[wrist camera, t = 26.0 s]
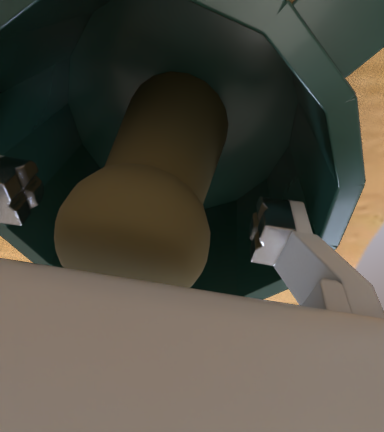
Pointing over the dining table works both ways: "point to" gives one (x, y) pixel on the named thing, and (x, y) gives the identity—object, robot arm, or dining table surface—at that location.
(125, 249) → the tan game pawn
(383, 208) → the dining table surface
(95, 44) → the pot
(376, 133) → the dining table surface
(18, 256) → the dining table surface
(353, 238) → the dining table surface
